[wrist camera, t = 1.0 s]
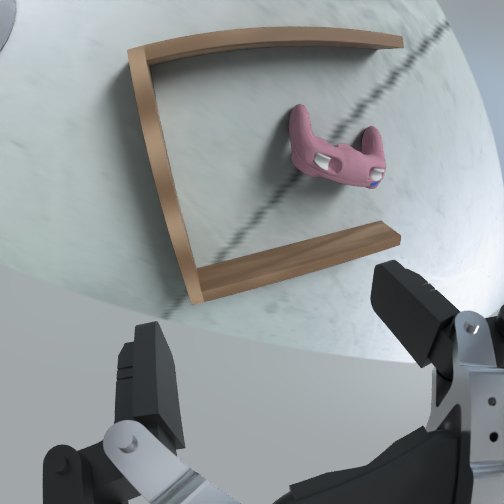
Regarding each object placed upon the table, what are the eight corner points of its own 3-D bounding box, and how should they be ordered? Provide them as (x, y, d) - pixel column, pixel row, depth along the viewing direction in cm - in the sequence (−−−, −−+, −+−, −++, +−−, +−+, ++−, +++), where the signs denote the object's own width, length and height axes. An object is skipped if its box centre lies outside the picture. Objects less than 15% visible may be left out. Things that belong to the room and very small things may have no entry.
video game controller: (275, 137, 28) (292, 187, 24) (291, 98, 24) (315, 143, 20) (357, 156, 31) (383, 202, 27) (377, 124, 27) (409, 169, 23)
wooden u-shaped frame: (133, 56, 19) (127, 50, 16) (377, 38, 23) (402, 36, 19) (188, 280, 31) (192, 305, 28) (380, 229, 35) (399, 244, 31)
